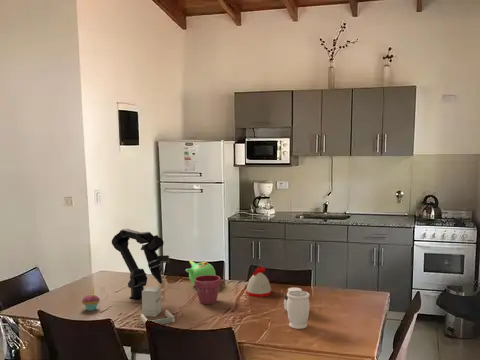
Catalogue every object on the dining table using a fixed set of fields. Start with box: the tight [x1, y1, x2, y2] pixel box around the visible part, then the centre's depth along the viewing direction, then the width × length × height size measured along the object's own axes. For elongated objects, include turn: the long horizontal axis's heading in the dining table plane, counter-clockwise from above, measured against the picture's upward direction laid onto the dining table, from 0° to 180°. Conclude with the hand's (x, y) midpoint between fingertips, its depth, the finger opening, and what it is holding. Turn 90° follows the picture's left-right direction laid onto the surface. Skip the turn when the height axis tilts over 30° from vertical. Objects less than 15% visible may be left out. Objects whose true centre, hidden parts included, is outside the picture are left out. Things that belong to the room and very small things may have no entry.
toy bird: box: [185, 260, 217, 285], centre depth 278 cm, size 18×17×15 cm
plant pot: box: [193, 275, 222, 305], centre depth 249 cm, size 14×14×13 cm
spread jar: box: [283, 287, 303, 312], centre depth 233 cm, size 12×11×12 cm
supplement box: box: [141, 286, 162, 318], centre depth 230 cm, size 7×7×13 cm
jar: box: [286, 290, 311, 330], centre depth 213 cm, size 11×10×15 cm
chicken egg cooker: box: [246, 266, 272, 298], centre depth 263 cm, size 14×14×15 cm
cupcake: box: [81, 286, 101, 312], centre depth 238 cm, size 9×8×12 cm
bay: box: [140, 309, 176, 325], centre depth 222 cm, size 11×13×2 cm
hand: (160, 282), depth 241 cm, fingers open, 9 cm apart
